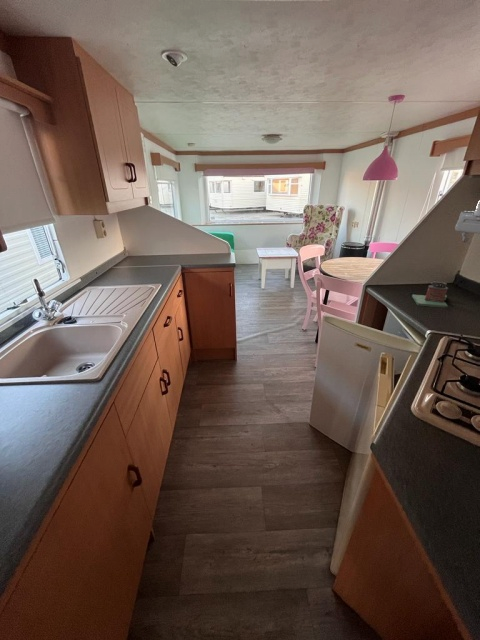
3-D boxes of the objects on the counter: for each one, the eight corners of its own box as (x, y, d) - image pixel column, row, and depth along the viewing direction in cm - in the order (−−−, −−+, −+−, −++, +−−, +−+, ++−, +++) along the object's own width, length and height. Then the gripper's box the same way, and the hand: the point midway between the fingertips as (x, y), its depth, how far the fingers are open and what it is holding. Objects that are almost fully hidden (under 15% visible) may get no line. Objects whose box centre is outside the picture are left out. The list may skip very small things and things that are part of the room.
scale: (442, 298, 139) (444, 293, 138) (451, 308, 129) (453, 302, 127) (411, 296, 143) (412, 290, 142) (417, 305, 133) (419, 299, 131)
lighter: (442, 300, 134) (449, 281, 129) (443, 303, 131) (450, 284, 127) (424, 298, 137) (429, 280, 133) (424, 300, 134) (430, 282, 130)
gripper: (457, 210, 123) (447, 240, 130) (513, 213, 107) (498, 248, 113) (465, 209, 126) (455, 239, 132) (521, 212, 109) (506, 246, 116)
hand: (475, 243), depth 123 cm, fingers open, 8 cm apart
